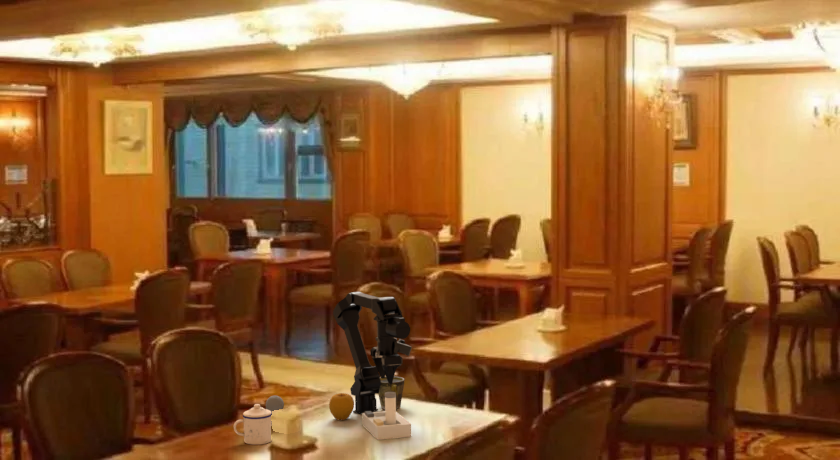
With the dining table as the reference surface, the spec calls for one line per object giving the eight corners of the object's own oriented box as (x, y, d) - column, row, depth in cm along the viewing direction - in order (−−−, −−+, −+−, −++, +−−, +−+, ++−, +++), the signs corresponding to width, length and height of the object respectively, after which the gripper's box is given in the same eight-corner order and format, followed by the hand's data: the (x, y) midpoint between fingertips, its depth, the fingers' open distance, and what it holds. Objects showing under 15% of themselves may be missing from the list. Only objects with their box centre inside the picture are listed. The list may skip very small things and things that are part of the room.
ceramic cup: (373, 405, 390) (372, 377, 389) (400, 403, 393) (399, 375, 392) (383, 414, 378) (382, 385, 377) (410, 411, 381) (410, 382, 380)
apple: (358, 420, 369) (357, 394, 368) (333, 423, 366) (333, 397, 365) (350, 415, 377) (349, 389, 376) (326, 417, 374) (325, 392, 373)
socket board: (362, 425, 364) (362, 410, 363) (394, 422, 367) (394, 407, 366) (377, 439, 345) (377, 424, 345) (411, 436, 349) (411, 420, 348)
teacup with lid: (269, 436, 352) (268, 400, 351) (275, 443, 343) (274, 406, 342) (232, 439, 348) (230, 403, 347) (236, 447, 340) (235, 410, 339)
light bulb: (281, 428, 361) (280, 398, 360) (263, 427, 363) (262, 397, 362) (286, 423, 367) (286, 393, 366) (269, 422, 368) (268, 393, 368)
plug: (383, 435, 351) (382, 393, 350) (391, 432, 353) (390, 391, 352) (390, 437, 348) (389, 394, 347) (398, 434, 351) (398, 393, 350)
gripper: (417, 337, 362) (418, 384, 363) (401, 328, 379) (401, 373, 381) (384, 340, 358) (385, 387, 360) (369, 331, 376) (370, 376, 377)
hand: (386, 381), depth 369 cm, fingers open, 9 cm apart
